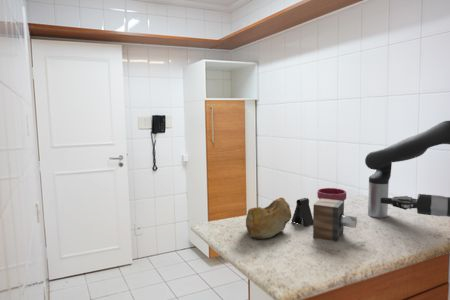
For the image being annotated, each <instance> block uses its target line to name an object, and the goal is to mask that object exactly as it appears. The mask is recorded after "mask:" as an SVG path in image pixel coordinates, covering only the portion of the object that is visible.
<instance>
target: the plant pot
mask: <svg viewBox="0 0 450 300" xmlns="http://www.w3.org/2000/svg"><path fill="white" fill-rule="evenodd" d="M316 193H317V194H316V195H317V198H318V200H320V199H321V198H322V199H331V200H340V201H344V202H345V200H347V191H346V190H345V189H342V188H337V187H336V188H335V187H334V188H333V187H326V188H319V189H318V190H317V192H316Z"/></svg>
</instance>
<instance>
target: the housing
mask: <svg viewBox="0 0 450 300" xmlns="http://www.w3.org/2000/svg"><path fill="white" fill-rule="evenodd" d="M312 208H313V211H312V212H313V213H312V217H313V224H312V225H313V226H312V228H313V229H312V238H313V239H319V240H324V241H330V242H335V243H339V240H340V238H342V236H343V235H344V226H340V225H339V220H340V215H344V216H345V200H344V201H340V200H331V199H322V198H321V199H320V200H319V199H318V200H317V201H316V202H315V203H314V204H313V207H312Z"/></svg>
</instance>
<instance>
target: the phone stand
mask: <svg viewBox="0 0 450 300" xmlns="http://www.w3.org/2000/svg"><path fill="white" fill-rule="evenodd" d="M291 221H292V222H295V223H294V224H296V223H298V224H297V225H299V224H300V226H302V225H303V226H302V227H309V226H311V225H313V213H312V211H311V208H310V199H309V198H308V197H303V198H299V199H297V200H296V206H295V209H294V213H293V215H292V217H291ZM292 222H291V223H292Z"/></svg>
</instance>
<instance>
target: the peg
mask: <svg viewBox="0 0 450 300" xmlns="http://www.w3.org/2000/svg"><path fill="white" fill-rule="evenodd" d="M357 221H358V219H357V216H350V215H345V214H344V215H340V220H339V225H340V226H343V227H347V228H352V229H353V228H355V229H356V228H357V225H358V222H357Z"/></svg>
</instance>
